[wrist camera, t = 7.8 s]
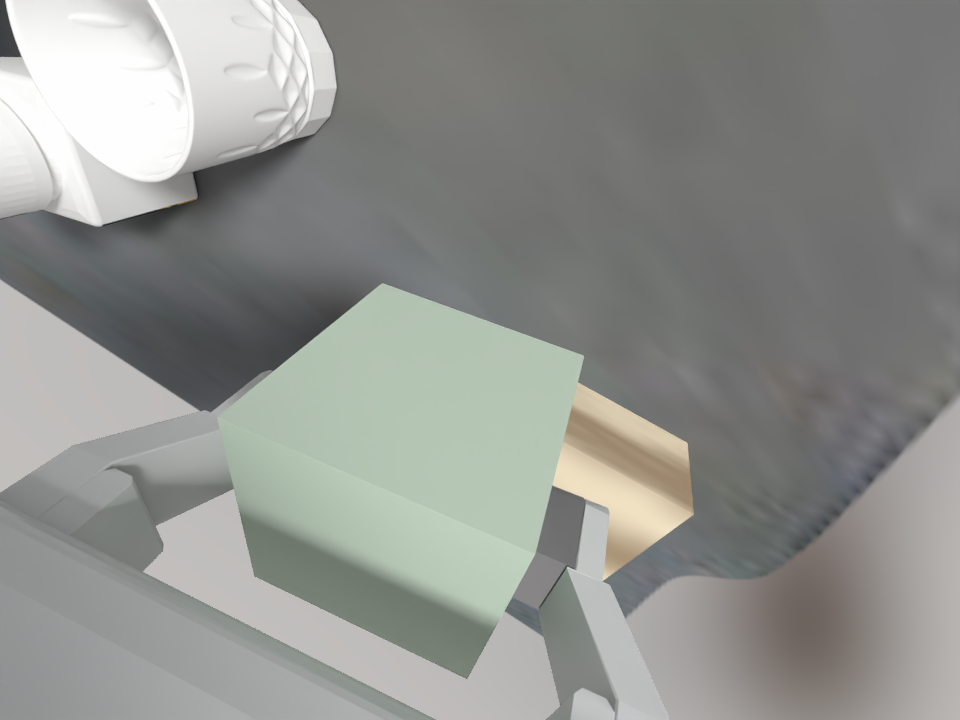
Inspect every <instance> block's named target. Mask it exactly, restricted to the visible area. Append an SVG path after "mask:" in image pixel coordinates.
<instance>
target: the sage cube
mask: <svg viewBox="0 0 960 720" xmlns="http://www.w3.org/2000/svg"><path fill="white" fill-rule="evenodd" d="M583 359H584V356H583V355H580V354H577V353H575V352H572V351H569V350H566V349H563V348H561V347H558V346H555V345H552V344H550V343H547V342H544V341H541V340H538V339H536V338H533V337H530V336H527V335H525V334H522V333H519V332H516V331H513V330H511V329H508V328H505V327H502V326H500V325H497V324H494V323H491V322H488V321H486V320H483V319H480V318H477V317H475V316H472V315H469V314H466V313H464V312H461V311H458V310H455V309H452V308H450V307H447V306H444V305H441V304H439V303H436V302H433V301H430V300H427V299H425V298H422V297H419V296H416V295H414V294H411V293H408V292H405V291H402V290H400V289H397V288H394V287H391V286H389V285H386V284H383V283H382V284H381V285H379V286H378V287H377V288H376V289H374V290H373V291H372V292H371V293H370V294H368V295H367V296H366V297H365V298H363V299H362V300H361V301H360V302H358V303H357V304H356V305H355V306H353V307H352V308H351V309H350V310H348V311H347V312H346V313H345V314H344V315H342V316H341V317H340V318H339V319H337V320H336V321H335V322H334V323H332V324H331V325H330V326H329V327H327V328H326V329H325V330H324V331H323V332H321V333H320V334H319V335H318V336H316V337H315V338H314V339H313V340H311V341H310V342H309V343H308V344H306V345H305V346H304V347H303V348H302V349H300V350H299V351H298V352H297V353H295V354H294V355H293V356H292V357H290V358H289V359H288V360H287V361H285V362H284V363H283V364H282V365H281V366H279V367H278V368H277V369H276V370H274V371H273V372H272V373H271V374H269V375H268V376H267V377H266V378H264V379H263V380H262V381H261V382H259V383H258V384H257V385H256V386H255V387H253V388H252V389H251V390H250V391H248V392H247V393H246V394H245V395H243V396H242V397H241V398H240V399H238V400H237V401H236V402H235V403H234V404H232V405H231V406H230V407H229V408H227V409H226V410H225V411H224V412H222V413H221V414H220V415H219V416H217V419H218V423H219V428H220V432H221V436H222V440H223V445H224V449H225V453H226V457H227V461H228V466H229V470H230V474H231V478H232V483H233V487H234V491H235V495H236V500H237V504H238V508H239V512H240V516H241V520H242V525H243V529H244V534H245V538H246V542H247V546H248V550H249V554H250V559H251V563H252V567H253V571H254V575H255V577H257V578H259V579H262V580H264V581H266V582H268V583H270V584H272V585H274V586H276V587H278V588H280V589H282V590H284V591H286V592H288V593H291V594H293V595H295V596H297V597H299V598H301V599H303V600H305V601H307V602H309V603H311V604H313V605H315V606H317V607H319V608H321V609H324V610H325V611H328V612H330V613H332V614H334V615H336V616H338V617H340V618H342V619H344V620H346V621H348V622H350V623H352V624H354V625H356V626H359V627H361V628H363V629H365V630H367V631H369V632H371V633H373V634H375V635H377V636H379V637H381V638H383V639H385V640H388V641H390V642H392V643H394V644H396V645H398V646H400V647H402V648H404V649H406V650H408V651H410V652H412V653H414V654H416V655H418V656H421V657H423V658H425V659H427V660H429V661H431V662H433V663H435V664H437V665H439V666H441V667H443V668H445V669H448V670H450V671H451V672H454V673H456V674H458V675H460V676H462V677H464V678H466V679H467V678H468V676H469V675H470V673H471V671H472V669H473V667H474V665H475V663H476V662H477V660H478V658H479V656H480V654H481V653H482V651H483V649H484V647H485V645H486V643H487V641H488V640H489V638H490V636H491V634H492V633H493V630H494V629H495V627H496V625H497V623H498V621H499V620H500V618H501V616H502V614H503V612H504V611H505V609H506V607H507V605H508V603H509V601H510V600H511V598H512V596H513V594H514V592H515V591H516V589H517V587H518V585H519V583H520V581H521V580H522V578H523V576H524V574H525V572H526V570H527V569H528V567H529V565H530V563H531V561H532V559H533V558H534V556H535V553H536V549H537V545H538V541H539V537H540V533H541V529H542V525H543V521H544V517H545V513H546V509H547V505H548V501H549V497H550V493H551V489H552V485H553V480H554V476H555V472H556V468H557V464H558V460H559V456H560V452H561V448H562V444H563V440H564V436H565V432H566V428H567V424H568V420H569V416H570V412H571V407H572V403H573V399H574V395H575V391H576V387H577V383H578V379H579V375H580V371H581V367H582V363H583Z"/></svg>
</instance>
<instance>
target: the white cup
mask: <svg viewBox="0 0 960 720" xmlns="http://www.w3.org/2000/svg"><path fill="white" fill-rule="evenodd" d="M5 2H6V7H7V12H8V17H9V21H10V25H11V28H12V32H13V35H14V38H15V41H16V43H17V46H18V49H19V51H20V54H21V56H22V59H23V61H24V63H25V65H26V67H27V70H28V72H29V74H30V76H31V78H32V79H33V81H34V83H35V85H36V87H37V89H38V90H39V92H40V94H41V95H42V97H43V98H44V100H45V102H46V103H47V105H48V106H49V108H50V109H51V111H52V112H53V113H54V115H55V116H56V117H57V119H58V120H59V121H60V123H61V124H62V125H63V126H64V128H65V129H66V130H67V131H68V132H69V134H70V135H71V136H72V137H73V138H74V139H75V140H76V141H77V142H78V143H79V144H80V145H81V146H82V147H83V148H84V149H85V150H86V151H87V152H88V153H89V154H91V155H92V156H93V157H94V158H95V159H97V160H98V161H99V162H101V163H102V164H103V165H105V166H106V167H108V168H109V169H111V170H113V171H115V172H116V173H118V174H120V175H122V176H125V177H127V178H130V179H133V180H136V181H141V182H160V181H164V180H167V179H171V178H174V177H178V176H181V175H185V174H188V173H192V172H195V171H199V170H202V169H206V168H209V167H213V166H216V165H220V164H223V163H227V162H230V161H234V160H237V159H241V158H244V157H248V156H251V155H255V154H258V153H261V152H264V151H266V150H269V149H272V148H276V147H277V146H279V145H280V144H282V143H285V142H288V141H290V140H293V139H297V138H301V137H305V136H309V135H313V134H315V133H316V132H317V131H318V130H319V128H320V127H321V126H322V125H323V124H324V123H325V122H326V120H327V119H328V118H329V117H330V115H331V111H332V107H333V103H334V98H335V94H336V90H337V84H336V77H335V69H334V61H333V54H332V51H331V49H330V47H329V45H328V43H327V40H326V38H325V36H324V34H323V32H322V30H321V28H320V25H319V23H318V21H317V20H316V19H315V18H314V17H313V15H312V14H311V13H310V12H309V11H308V10H307V9H306V8H305V7H304V6H303V5H302V4H301V3H300V2H299V1H298V0H5Z"/></svg>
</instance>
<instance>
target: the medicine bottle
mask: <svg viewBox="0 0 960 720" xmlns="http://www.w3.org/2000/svg"><path fill="white" fill-rule="evenodd" d="M197 198H198V194H197V189H196V185H195V180H194V176H193V172H192V173H188V174H185V175H181V176H178V177H174V178H171V179H167V180H164V181H160V182H141V181H136V180H133V179H130V178H127V177H125V176H122V175H120V174H118V173H116V172H115V171H113V170H111V169H109V168H108V167H106V166H105V165H103V164H102V163H101V162H99V161H98V160H97V159H95V158H94V157H93V156H92V155H91V154H89V153H88V152H87V151H86V150H85V149H84V148H83V147H82V146H81V145H80V144H79V143H78V142H77V141H76V140H75V139H74V138H73V137H72V136H71V135H70V134H69V132H68V131H67V130H66V129H65V128H64V126H63V125H62V124H61V123H60V121H59V120H58V119H57V117H56V116H55V115H54V113H53V112H52V111H51V109H50V108H49V106H48V105H47V103H46V102H45V100H44V98H43V97H42V95H41V94H40V92H39V90H38V89H37V87H36V85H35V83H34V81H33V79H32V78H31V76H30V74H29V72H28V70H27V67H26V65H25V63H24V61H23V59H22V57H0V219H4V218H8V217H12V216H17V215H21V214H26V213H30V212H34V211H39V210H45V211H49V212H52V213H55V214H58V215H61V216H64V217H67V218H71V219H74V220H77V221H80V222H83V223H86V224H89V225H93V226H96V227H99V226H105V225H109V224H112V223H116V222H119V221H123V220H126V219H130V218H134V217H137V216H141V215H144V214H148V213H151V212H155V211H158V210H162V209H165V208H169V207H173V206H176V205H180V204H183V203H187V202H190V201H194V200H196V199H197Z"/></svg>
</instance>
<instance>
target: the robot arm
mask: <svg viewBox="0 0 960 720" xmlns="http://www.w3.org/2000/svg"><path fill="white" fill-rule="evenodd" d="M272 372H273V371H271V370H268V371H265V372H262V373H261V374H259V375H258V376H257V377H255V378H254V379H253V380H252V381H250V382H249V383H248V384H246V385H245V386H244V387H243V388H241V389H240V390H239V391H238V392H236V393H235V394H234V395H232V396H231V397H230V398H229V399H227V400H226V401H225V402H223V403H222V404H221V405H220V406H218V407H217V408H216V409H214V410H213V411H212V412H208V411H206V410H204V411H200V412H196V413H193V414H189V415H185V416H181V417H178V418H174V419H170V420H166V421H163V422H159V423H155V424H151V425H148V426H144V427H140V428H136V429H133V430H129V431H125V432H122V433H118V434H114V435H110V436H107V437H103V438H99V439H95V440H92V441H88V442H84V443H80V444H77V445H73V446H71V447H70V448H68V449H67V450H65V451H63V452H62V453H60V454H59V455H57V456H56V457H54V458H53V459H51V460H50V461H48V462H47V463H45V464H44V465H42V466H40V467H39V468H38V469H36V470H35V471H33V472H31V473H30V474H28V475H27V476H25V477H24V478H22V479H21V480H19V481H18V482H16V483H15V484H13V485H11V486H10V487H8V488H7V489H5V490H4V491H2V492H1V493H0V720H435V719H434V718H431V717H430V716H427V715H426V714H423V713H421V712H420V711H418V710H415V709H414V708H412V707H410V706H408V705H406V704H404V703H402V702H400V701H398V700H396V699H394V698H392V697H390V696H388V695H386V694H384V693H382V692H380V691H378V690H376V689H374V688H372V687H370V686H368V685H366V684H364V683H362V682H360V681H358V680H356V679H354V678H352V677H350V676H348V675H346V674H344V673H342V672H340V671H338V670H336V669H334V668H332V667H330V666H328V665H326V664H324V663H322V662H320V661H318V660H316V659H314V658H312V657H310V656H308V655H306V654H304V653H303V652H300V651H299V650H297V649H295V648H292V647H290V646H289V645H287V644H285V643H282V642H280V641H279V640H277V639H274V638H273V637H271V636H269V635H266V634H265V633H262V632H261V631H259V630H256V629H255V628H253V627H251V626H249V625H247V624H245V623H243V622H241V621H239V620H237V619H235V618H233V617H231V616H229V615H227V614H225V613H223V612H221V611H219V610H217V609H215V608H213V607H211V606H209V605H207V604H205V603H203V602H201V601H199V600H197V599H195V598H193V597H191V596H189V595H187V594H185V593H183V592H181V591H179V590H177V589H175V588H173V587H171V586H169V585H168V584H166V583H164V582H162V581H160V580H157V579H156V578H153V577H152V576H150V575H148V574H146V573H144V572H143V571H144V570H145V568H147V567H148V565H150V564H151V562H153V560H154V559H155V558H156V557H157V556H158V555H159V554H160V553H161V552H162V551H163V542H162V540H161V537H160V535H159V533H158V531H157V529H156V525H158V524H160V523H163V522H165V521H167V520H169V519H171V518H173V517H175V516H177V515H179V514H182V513H184V512H186V511H188V510H190V509H192V508H194V507H196V506H198V505H200V504H203V503H205V502H207V501H209V500H211V499H213V498H215V497H217V496H219V495H222V494H224V493H226V492H228V491H230V490H232V489H234V487H233V483H232V478H231V474H230V470H229V466H228V461H227V457H226V453H225V449H224V445H223V440H222V436H221V432H220V428H219V423H218V419H217V416H219V415H220V414H221V413H222V412H224V411H225V410H226V409H227V408H229V407H230V406H231V405H232V404H234V403H235V402H236V401H237V400H238V399H240V398H241V397H242V396H243V395H245V394H246V393H247V392H248V391H250V390H251V389H252V388H253V387H255V386H256V385H257V384H258V383H259V382H261V381H262V380H263V379H264V378H266V377H267V376H268V375H269V374H271V373H272ZM609 515H610V513H609V509H608V508H607V507H604V506H602V505H599V504H597V503H594V502H592V501H589V500H587V499H584V498H583V497H580V496H578V495H575V494H573V493H570V492H568V491H565V490H563V489H560V488H558V487H555V486H552V489H551V493H550V497H549V501H548V505H547V509H546V513H545V517H544V521H543V525H542V529H541V533H540V537H539V541H538V545H537V549H536V553H535V556H534V558H533V559H532V561H531V563H530V565H529V567H528V569H527V570H526V572H525V574H524V576H523V578H522V580H521V581H520V583H519V585H518V587H517V589H516V591H515V592H514V594H513V596H512V597H513V598H515V599H517V600H519V601H521V602H523V603H525V604H528V605H530V606H532V607H534V608H536V609H538V615H539V619H540V624H541V628H542V632H543V636H544V640H545V644H546V648H547V653H548V656H549V660H550V665H551V669H552V673H553V677H554V682H555V686H556V690H557V694H558V698H559V702H560V707H559V708H558V709H557V710H556V711H555V712H554V713H553V714H551V715H550V716H549V717H548V718H547V719H546V720H670V719H669V717H668V715H667V713H666V710H665V708H664V706H663V703H662V701H661V699H660V696H659V695H658V692H657V690H656V688H655V685H654V683H653V681H652V678H651V676H650V674H649V672H648V669H647V667H646V665H645V663H644V661H643V658H642V656H641V654H640V651H639V649H638V647H637V645H636V643H635V640H634V638H633V636H632V633H631V631H630V629H629V627H628V625H627V622H626V620H625V618H624V615H623V613H622V611H621V609H620V606H619V604H618V602H617V600H616V597H615V595H614V593H613V591H612V588H611V586H610V585H609V584H606V583H604V582H603V575H604V565H605V555H606V545H607V535H608V525H609Z"/></svg>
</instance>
